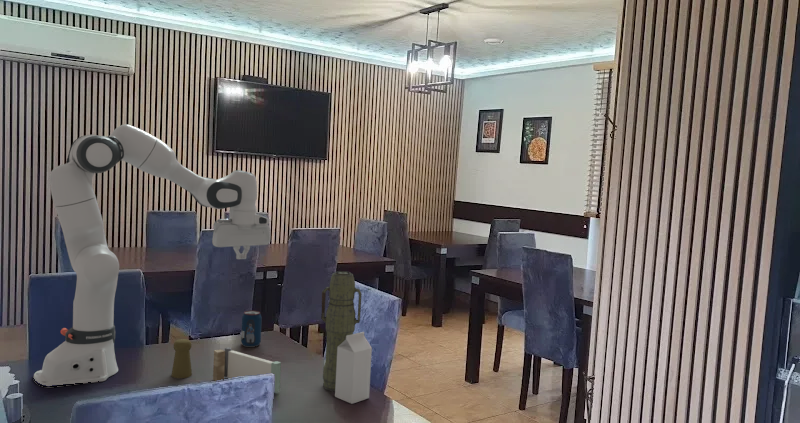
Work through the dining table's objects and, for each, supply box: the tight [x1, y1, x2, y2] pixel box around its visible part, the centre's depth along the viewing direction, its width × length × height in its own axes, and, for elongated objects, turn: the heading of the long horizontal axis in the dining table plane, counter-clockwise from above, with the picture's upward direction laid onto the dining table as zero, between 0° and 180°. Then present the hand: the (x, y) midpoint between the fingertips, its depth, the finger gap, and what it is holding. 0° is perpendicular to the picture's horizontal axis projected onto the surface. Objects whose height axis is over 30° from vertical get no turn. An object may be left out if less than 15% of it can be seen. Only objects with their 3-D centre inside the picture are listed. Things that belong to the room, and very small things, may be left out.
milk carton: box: [334, 331, 373, 405], centre depth 180 cm, size 7×7×19 cm
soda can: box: [240, 309, 263, 348], centre depth 226 cm, size 7×7×12 cm
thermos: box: [321, 270, 362, 392], centre depth 189 cm, size 9×12×35 cm
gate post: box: [212, 349, 225, 382], centre depth 189 cm, size 2×2×9 cm
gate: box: [224, 347, 282, 393], centre depth 186 cm, size 22×2×9 cm, turn 59°
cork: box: [170, 338, 193, 379], centre depth 192 cm, size 6×6×11 cm
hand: (241, 258), depth 213 cm, fingers closed
